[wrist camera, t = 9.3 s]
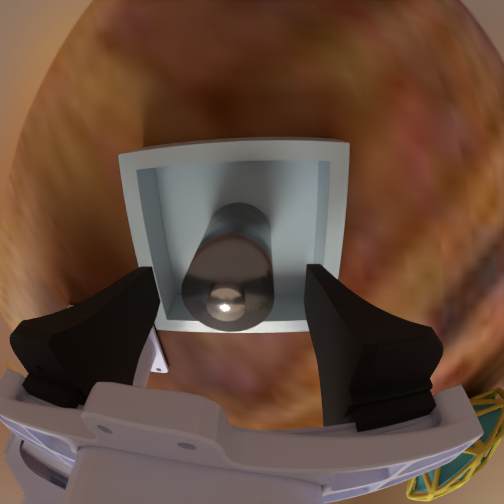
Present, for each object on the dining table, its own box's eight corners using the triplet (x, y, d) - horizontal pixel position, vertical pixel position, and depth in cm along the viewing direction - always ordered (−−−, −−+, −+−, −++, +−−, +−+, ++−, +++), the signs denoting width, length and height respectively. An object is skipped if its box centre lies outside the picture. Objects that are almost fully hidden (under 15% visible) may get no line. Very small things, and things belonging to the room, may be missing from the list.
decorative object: (407, 434, 42) (443, 473, 31) (352, 477, 29) (400, 532, 18) (479, 354, 36) (522, 395, 24) (464, 375, 23) (528, 439, 11)
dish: (169, 300, 21) (156, 329, 18) (142, 147, 16) (118, 154, 13) (320, 299, 21) (329, 329, 18) (332, 138, 15) (349, 142, 12)
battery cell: (211, 259, 19) (186, 338, 12) (206, 203, 17) (170, 263, 10) (270, 259, 19) (273, 341, 12) (270, 202, 17) (276, 264, 10)
